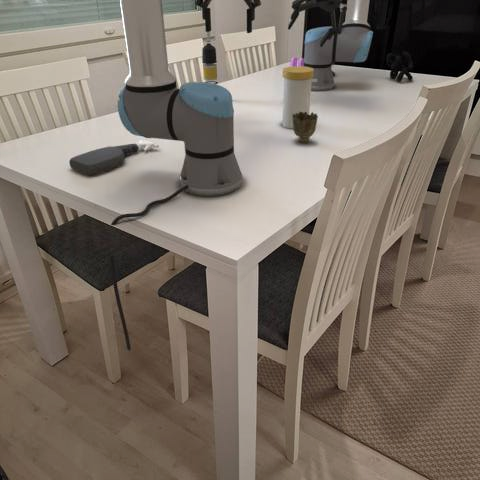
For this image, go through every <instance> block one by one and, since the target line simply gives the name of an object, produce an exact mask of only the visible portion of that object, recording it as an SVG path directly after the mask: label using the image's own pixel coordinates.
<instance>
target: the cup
mask: <svg viewBox="0 0 480 480" xmlns="http://www.w3.org/2000/svg"><path fill="white" fill-rule="evenodd" d="M292 118H293V129H292V130H293V133H294V135H295V136H296V137H297V141H298V142H299V143H301V144H302V143H303V144H304V143H305V144H306V143H308V142H310V139H311V137H312V136H313V135H314V134H315V132H316V128H317V123H318V118H319V115H318V114H317V113H314V112H313V111H311V112H310V113H309V115H307V112H305V113H303V112H299V113H296V114H293V115H292Z"/></svg>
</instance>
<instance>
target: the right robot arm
mask: <svg viewBox="0 0 480 480" xmlns="http://www.w3.org/2000/svg"><path fill="white" fill-rule="evenodd" d="M342 1H343V0H294V1H292V2H291V9H293V11H292V12H291V15H290V21H289V23H288V25H287V30H288V31H290V30H291V29H292V27H293V25H294V24H295V22H296V21H297V19H298V17H299V16H300V13H301V12H302V11H303V12H304V11H307V10H309V9H312V8H318V7H319V8H320V9H321V10H324V11H325V12H326V13H328V12H329V15H330V21H331V26H320V27H315V28H311V29H309V30H307V31H306V33H305V38H304V51H303V53H304V54H303V58H304V67H310V68H313V69H314V73H313V78H312V80H311V91H315V92H316V91H317V92H318V91H328V90H332V89H333V88H335V80H334V79H335V78H334V77H335V76H336V72H334V71H333V70H332V65H335V64H336V63H342V62H343V63H353V64H354V63H355V64H356V63H364V62H365V61H366V60H367V59H368V56H369V53H370V48H371V45H372V39H373V35H374V31H372V30H371V25H370V23H368V15H369V7H370V0H346V1H347V2H346V3H342ZM337 9H339V11H340V14H339V21H338V27H337V22H336V21H337V20H336V12H335V10H337ZM344 20H345V21H344Z"/></svg>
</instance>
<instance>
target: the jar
mask: <svg viewBox="0 0 480 480" xmlns="http://www.w3.org/2000/svg"><path fill="white" fill-rule="evenodd" d="M311 80H312V78H311V79H306V80H291V79H286V78H283V94H282V95H283V98H282V104H283V105H282V127H283V128H286V129H291V130H293V118H292V115H293V114H296V113H299V112H303V113H305V112H307V115H310V109H311V95H312V94H311V93H312V90H311Z"/></svg>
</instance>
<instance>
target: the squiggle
mask: <svg viewBox="0 0 480 480" xmlns="http://www.w3.org/2000/svg"><path fill="white" fill-rule="evenodd" d="M401 57H402V59H401ZM391 59H392V60H391ZM393 60H394V61H393ZM385 61H386V64H387V67H390V68H391V70H390V72H389V78H390V79H391V80H395V79H396V81H397V82H399V83H400V82H402V81H403V79H404V76H406V78H407V80H408V81H412V80H413V79H414V77H413V75H412V74H411V73H410V72H409V71H410V70H412V69H413V68H414V64H413V61H412V57H411V54H410V53H409V52H408V51H403V53H402V54H401V55H396V54H394V53H392V52H390V53H387V55H386V57H385ZM406 62H407V65H408V66H407V67H405V66H404V65H405V64H406ZM400 70H401V71H400Z"/></svg>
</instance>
